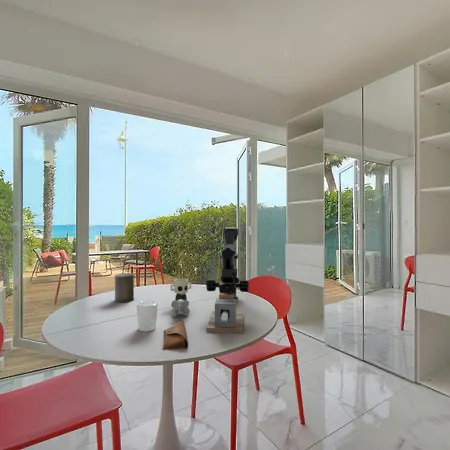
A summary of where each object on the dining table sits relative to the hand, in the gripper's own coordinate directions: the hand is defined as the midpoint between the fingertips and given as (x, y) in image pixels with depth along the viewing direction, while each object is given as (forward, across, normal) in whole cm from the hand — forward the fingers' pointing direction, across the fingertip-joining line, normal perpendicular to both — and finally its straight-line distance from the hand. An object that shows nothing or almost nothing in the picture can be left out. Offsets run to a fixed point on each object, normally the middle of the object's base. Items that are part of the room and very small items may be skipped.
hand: (226, 302), depth 118 cm
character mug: (-9, -24, +20) cm, 33 cm away
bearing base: (+7, 0, +4) cm, 8 cm away
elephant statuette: (+2, -20, +9) cm, 22 cm away
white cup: (+13, -31, -2) cm, 33 cm away
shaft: (+10, 0, -2) cm, 11 cm away
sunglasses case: (+20, -18, -8) cm, 27 cm away
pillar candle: (-14, -57, +26) cm, 64 cm away
